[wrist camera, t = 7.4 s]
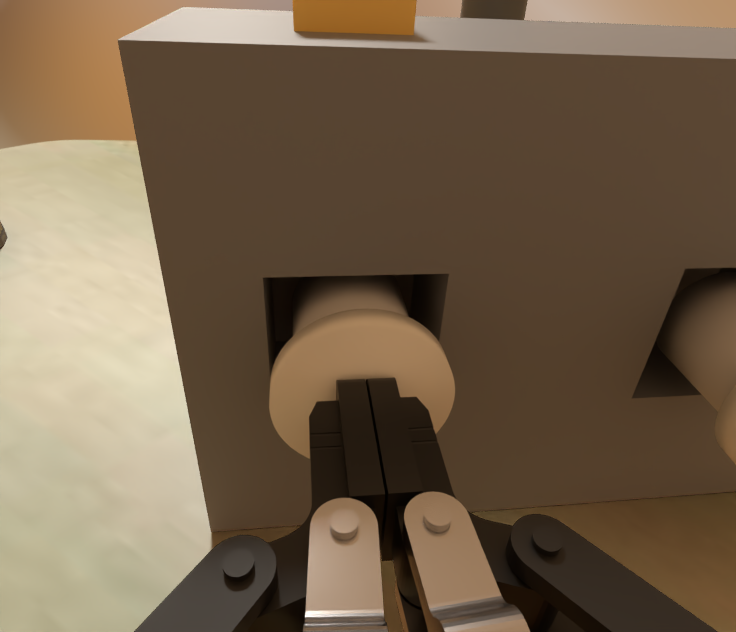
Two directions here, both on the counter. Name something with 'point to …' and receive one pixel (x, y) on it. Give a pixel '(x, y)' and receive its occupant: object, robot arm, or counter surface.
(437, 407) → the left button
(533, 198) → the control panel
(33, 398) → the counter surface
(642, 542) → the counter surface
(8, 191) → the counter surface
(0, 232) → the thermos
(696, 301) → the right button
